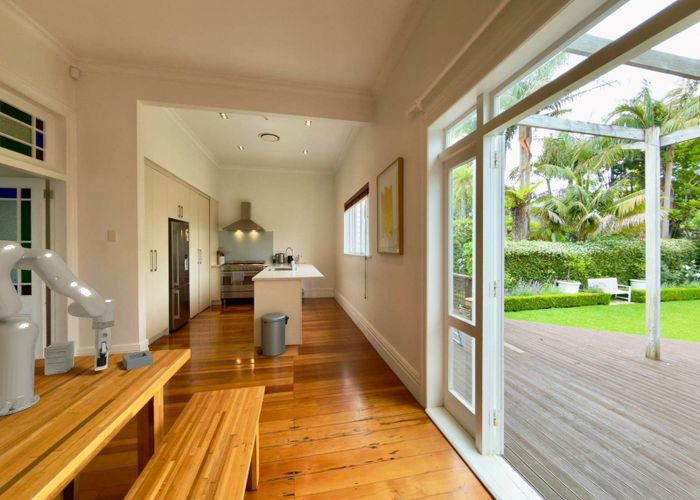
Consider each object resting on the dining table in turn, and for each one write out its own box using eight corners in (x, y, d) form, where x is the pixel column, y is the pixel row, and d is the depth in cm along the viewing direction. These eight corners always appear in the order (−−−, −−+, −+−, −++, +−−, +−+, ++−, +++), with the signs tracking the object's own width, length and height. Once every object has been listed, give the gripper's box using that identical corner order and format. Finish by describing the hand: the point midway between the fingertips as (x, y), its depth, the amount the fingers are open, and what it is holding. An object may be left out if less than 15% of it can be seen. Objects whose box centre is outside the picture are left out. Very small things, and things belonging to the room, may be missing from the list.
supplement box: (53, 369, 124) (54, 342, 124) (74, 366, 127) (75, 340, 127) (43, 375, 117) (44, 347, 118) (65, 372, 121) (66, 345, 121)
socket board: (153, 364, 132) (153, 356, 132) (127, 370, 124) (127, 362, 124) (147, 357, 139) (147, 350, 139) (122, 363, 132) (122, 355, 132)
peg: (107, 368, 121) (108, 348, 122) (95, 370, 118) (96, 350, 119) (105, 365, 124) (107, 346, 124) (94, 368, 121) (95, 348, 121)
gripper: (117, 326, 119) (114, 367, 119) (111, 320, 130) (108, 357, 129) (94, 329, 114) (91, 372, 113) (90, 323, 125) (87, 362, 124)
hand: (100, 364), depth 121 cm, fingers closed on peg, 4 cm apart
